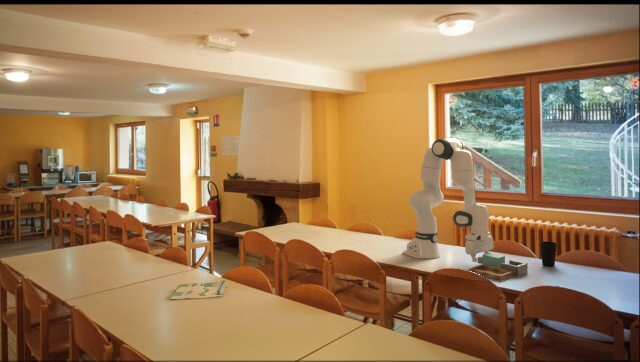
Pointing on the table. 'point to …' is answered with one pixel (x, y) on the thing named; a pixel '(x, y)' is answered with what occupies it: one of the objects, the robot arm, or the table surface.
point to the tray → (492, 272)
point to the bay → (515, 267)
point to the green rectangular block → (491, 260)
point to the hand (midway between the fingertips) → (479, 260)
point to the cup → (548, 253)
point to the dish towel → (213, 284)
